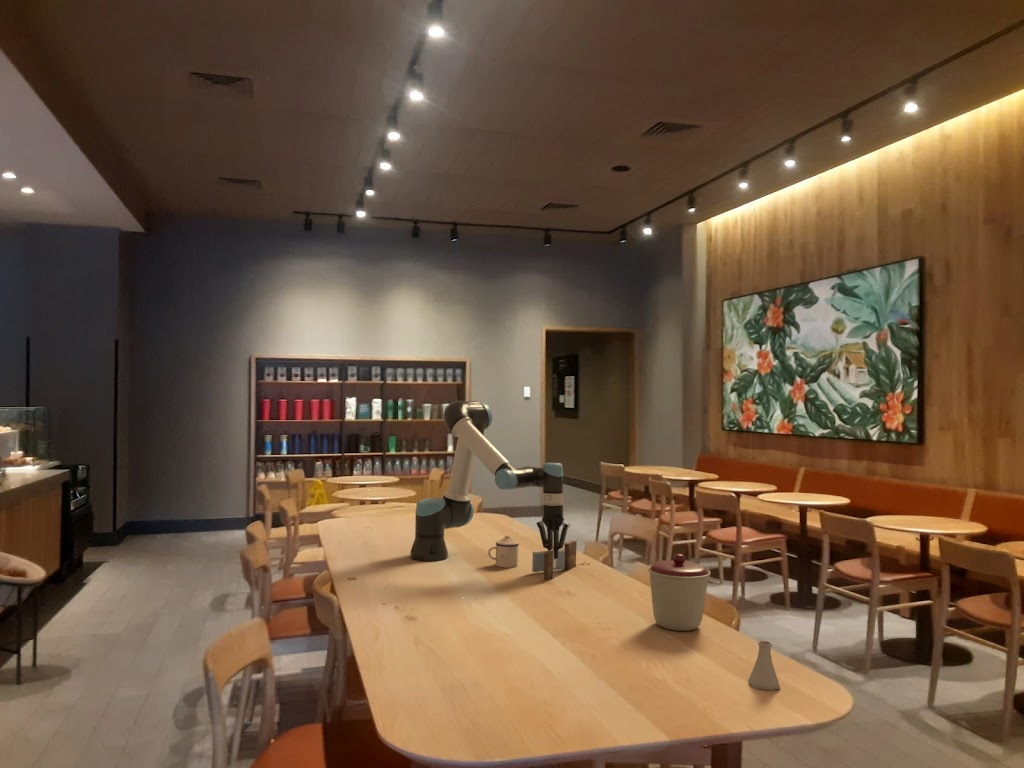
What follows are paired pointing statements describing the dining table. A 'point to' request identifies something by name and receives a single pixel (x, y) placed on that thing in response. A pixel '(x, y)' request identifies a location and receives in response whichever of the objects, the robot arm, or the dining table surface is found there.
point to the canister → (678, 593)
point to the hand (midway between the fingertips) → (553, 567)
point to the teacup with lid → (506, 552)
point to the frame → (569, 561)
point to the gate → (539, 560)
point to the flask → (764, 669)
